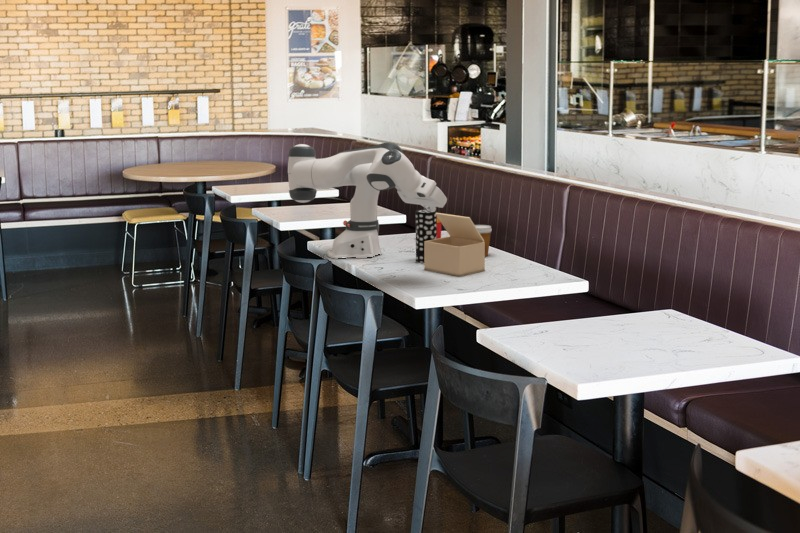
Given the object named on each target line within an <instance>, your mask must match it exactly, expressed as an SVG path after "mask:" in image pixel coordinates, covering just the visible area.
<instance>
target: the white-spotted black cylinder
mask: <svg viewBox="0 0 800 533" xmlns="http://www.w3.org/2000/svg"><path fill="white" fill-rule="evenodd" d="M436 213H438V211H437V209H436V210H435V212H432V211H428V210H427V209H417V210H415V262H416V263H419V264H424V241H428V240H434V239H437V215H436Z"/></svg>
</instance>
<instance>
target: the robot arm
mask: <svg viewBox="0 0 800 533" xmlns="http://www.w3.org/2000/svg"><path fill="white" fill-rule="evenodd" d="M287 155H288V156H287V157H288V161H287V175H288V176H287V177H288V186H289V190H288V193H289V197H290V199H292V201H295V202H297V203H303V204H304V203H309V202H311V201H313V200H314V199H315V198H316V197H317V192H318V190H320V189H321V190H327V189H333V188H340V187H343V186H344V187H345V186H346V187H347V186H353V187H355V191H354V194H353V197H352V198H351V200H350V203H349V208H350V209H349V210H350V211H349V212H350V215H349V216H350V218H349V220H343V222H342V224H343V226H344V227H345V230H344V231H342V232H341V233H339V235H338V236H337V237H335V238H334V239H333V241H332V245H331V246H332V248H331V250H328V251H327V252H326V255H327V257H328V258H331V259H336V260H339V259H338V258H342V257H356V258H355V259H368V258H367V257H372V258H374V257H376V256H375V255H378V254H380V255H382V254H381V253H383V252H382V248H381V244H380V239H379V231H380V222H379V219H378V200H379V195H380V192H381V191H382V192H383V191H387V190H391V189H393V188H395V189H396V190H397V191H396V192H397V194H398V196H399V197H400V199H401V200H402V202H404V203H405V204H410V205H419V206H422V207H423V208H424V209H425V210H428V211H432V212H435V210H436V211H437V208H441V209H443V208H444V207H445V205H446V204H447V201H448V197H447V196H446V195H445V194H444V192H443V191H442V190H441V188H439V187H438V186H437V182H436V181H435V180H433V179H430V178H428V177H426V176H424V175H422V174H420V172H419V171H418V170H417V169H415V167H414V164H413V163H412V162H411V161H410V159H409V158H408V157H407V156H406V155H405V153H404V151H403V149H402V148H401V147H400V145H398V144H397V143H395V142H390V141H389V142H382V143H379V144H377V145H373V146H367V147H361V148H360V147H359V148H353V149H347V150H344V151H341V152H338V153H337V154H335V155H332V156H329V157H323V158H316V157H317V153H316V150H315V148H314V147H313V146H310V145H308V144H304V143H299V144H296V145H293V146H292V147H290V148H289V150H288V154H287ZM317 189H318V190H317ZM373 256H374V257H373ZM378 256H379V255H378Z"/></svg>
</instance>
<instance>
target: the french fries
mask: <svg viewBox="0 0 800 533" xmlns="http://www.w3.org/2000/svg"><path fill="white" fill-rule="evenodd" d="M439 238H442V223H441V221H440V220H439V218H438V217H437V239H439Z"/></svg>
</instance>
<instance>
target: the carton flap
mask: <svg viewBox="0 0 800 533" xmlns="http://www.w3.org/2000/svg"><path fill="white" fill-rule="evenodd" d="M436 215H437V217H438V218H439V220H440V221H441V225H442V226H443V228H444V229H445V231H446V232H447V233H448V235H449V237H456V238H462V239H468V240H475V241H481V242H484V239H483V238H482V236H481V235H480V233H479V231H478V230H477V228H476V227H475V225H476V224H475V223H474V222H473V220H472V218H471V217H470V216H462V215H458V214H457V215H455V214H450V213H443V212H442V213H441V212H437V213H436Z"/></svg>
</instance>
